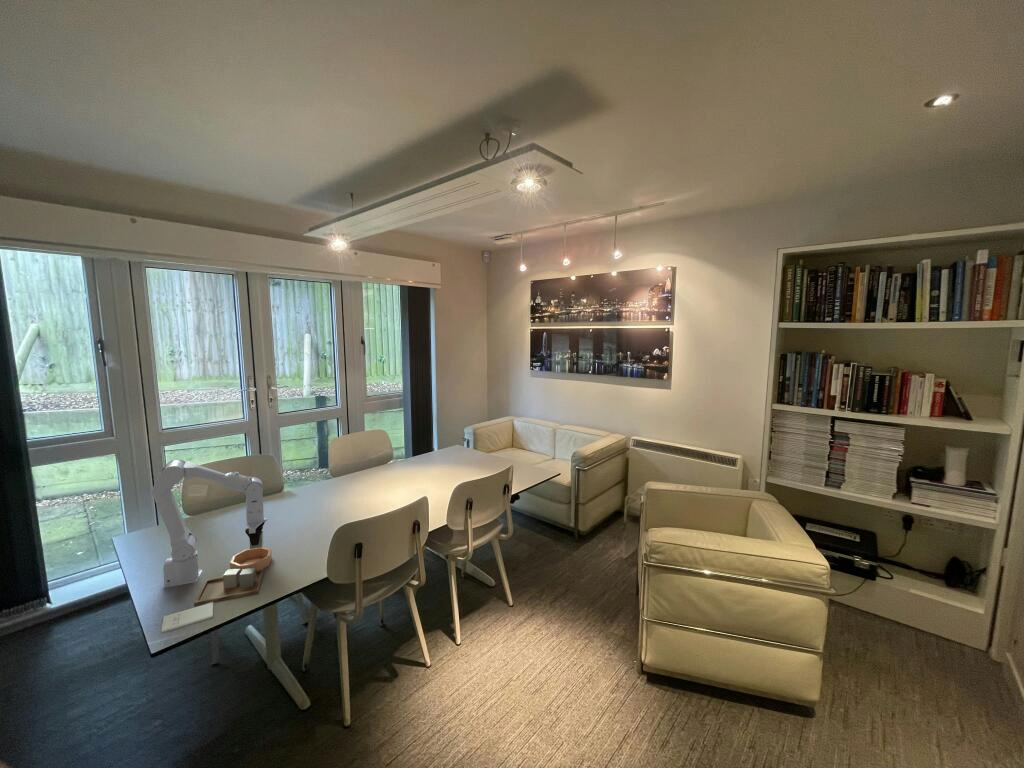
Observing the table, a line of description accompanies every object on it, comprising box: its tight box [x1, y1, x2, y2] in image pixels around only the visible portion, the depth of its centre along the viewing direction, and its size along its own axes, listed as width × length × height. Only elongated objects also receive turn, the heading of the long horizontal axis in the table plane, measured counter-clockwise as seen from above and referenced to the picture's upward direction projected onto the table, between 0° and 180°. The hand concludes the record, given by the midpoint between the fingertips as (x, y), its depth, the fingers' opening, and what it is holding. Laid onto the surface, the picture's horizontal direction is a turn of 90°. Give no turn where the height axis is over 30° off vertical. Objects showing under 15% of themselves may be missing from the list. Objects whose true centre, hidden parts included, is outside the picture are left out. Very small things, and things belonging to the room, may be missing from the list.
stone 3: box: [249, 530, 264, 549], centre depth 158 cm, size 4×4×5 cm
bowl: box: [229, 546, 273, 573], centre depth 156 cm, size 13×13×4 cm
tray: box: [193, 569, 265, 606], centre depth 142 cm, size 18×14×1 cm
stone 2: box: [239, 568, 256, 588], centre depth 144 cm, size 4×4×5 cm
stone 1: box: [222, 568, 240, 588], centre depth 143 cm, size 4×4×5 cm
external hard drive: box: [160, 602, 214, 634], centre depth 127 cm, size 2×8×12 cm
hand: (256, 542), depth 158 cm, fingers closed on stone 3, 3 cm apart
